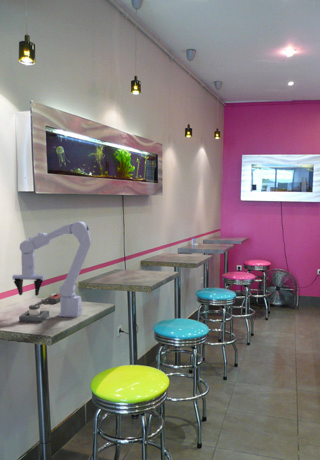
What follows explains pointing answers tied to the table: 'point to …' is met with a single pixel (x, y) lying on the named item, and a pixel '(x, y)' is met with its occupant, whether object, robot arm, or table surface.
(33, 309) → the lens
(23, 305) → the table surface
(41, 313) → the grey square frame
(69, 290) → the robot arm
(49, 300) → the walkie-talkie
